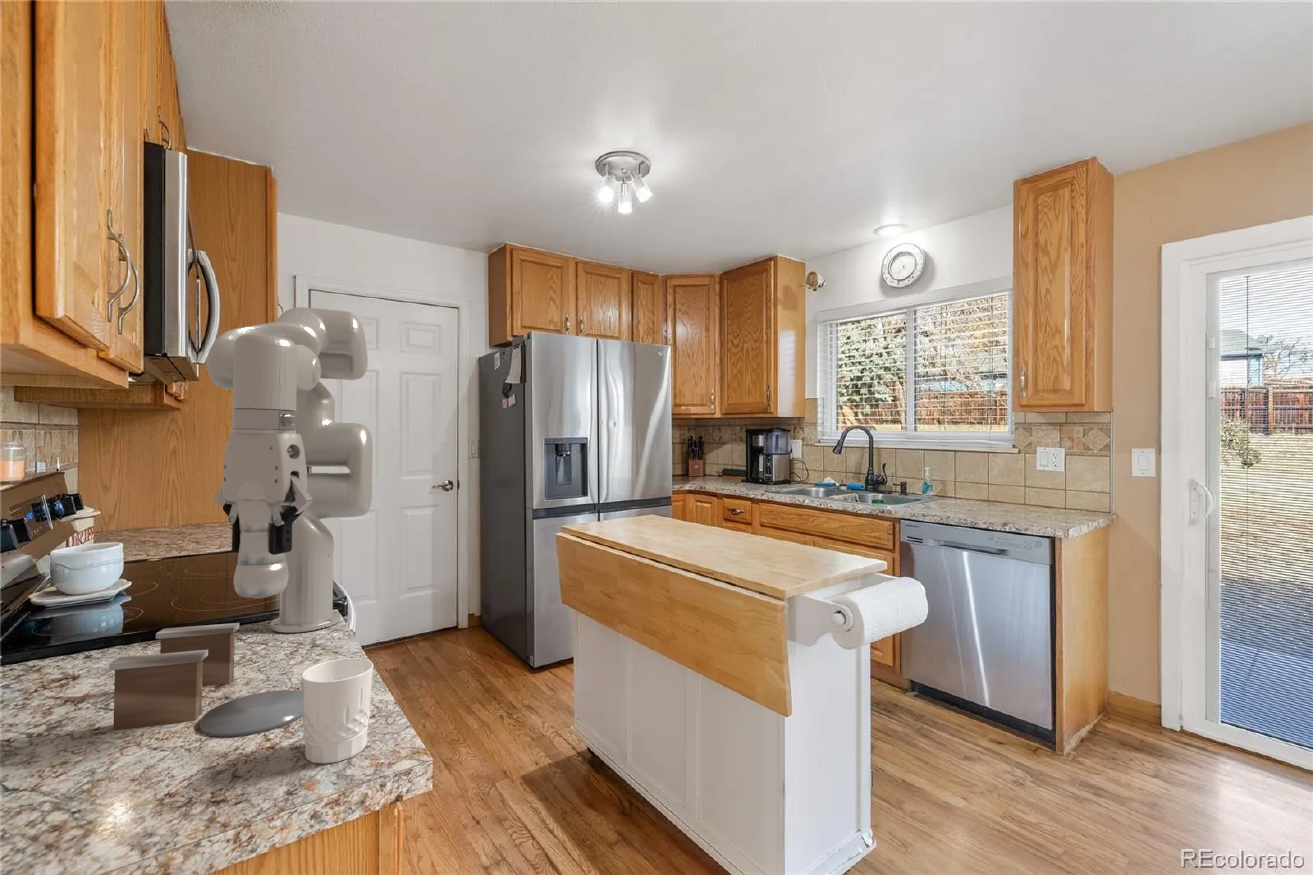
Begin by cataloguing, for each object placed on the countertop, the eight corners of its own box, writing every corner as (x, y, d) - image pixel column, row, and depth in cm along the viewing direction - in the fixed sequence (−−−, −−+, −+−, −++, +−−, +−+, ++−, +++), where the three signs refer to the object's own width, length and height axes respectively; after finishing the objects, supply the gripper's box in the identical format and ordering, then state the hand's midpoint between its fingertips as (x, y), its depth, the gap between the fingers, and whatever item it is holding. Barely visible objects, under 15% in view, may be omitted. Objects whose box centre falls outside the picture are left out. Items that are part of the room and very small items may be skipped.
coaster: (220, 700, 86) (220, 696, 86) (320, 689, 90) (320, 685, 90) (182, 743, 74) (182, 739, 74) (300, 728, 78) (300, 723, 78)
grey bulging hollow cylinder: (240, 606, 78) (243, 455, 78) (227, 596, 82) (230, 454, 82) (295, 596, 82) (298, 455, 83) (279, 588, 87) (282, 454, 87)
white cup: (287, 753, 72) (289, 672, 72) (350, 728, 78) (352, 653, 78) (320, 774, 67) (322, 687, 68) (384, 745, 74) (386, 666, 74)
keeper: (162, 685, 91) (163, 628, 91) (238, 677, 95) (239, 622, 95) (107, 731, 77) (109, 664, 77) (199, 720, 80) (200, 656, 80)
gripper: (337, 425, 85) (335, 550, 85) (236, 424, 88) (234, 544, 88) (296, 423, 77) (293, 560, 77) (188, 422, 80) (185, 554, 80)
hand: (262, 550), depth 82 cm, fingers closed on grey bulging hollow cylinder, 5 cm apart
